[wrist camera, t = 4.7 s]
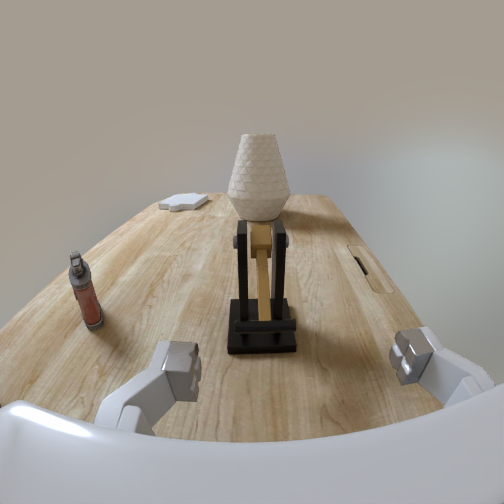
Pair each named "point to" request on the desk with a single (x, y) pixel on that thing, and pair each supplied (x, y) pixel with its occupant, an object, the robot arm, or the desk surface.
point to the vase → (258, 179)
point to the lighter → (85, 292)
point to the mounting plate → (183, 202)
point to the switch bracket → (249, 307)
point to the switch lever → (263, 288)
